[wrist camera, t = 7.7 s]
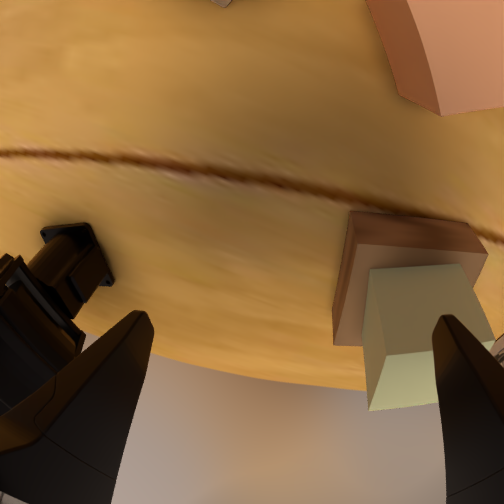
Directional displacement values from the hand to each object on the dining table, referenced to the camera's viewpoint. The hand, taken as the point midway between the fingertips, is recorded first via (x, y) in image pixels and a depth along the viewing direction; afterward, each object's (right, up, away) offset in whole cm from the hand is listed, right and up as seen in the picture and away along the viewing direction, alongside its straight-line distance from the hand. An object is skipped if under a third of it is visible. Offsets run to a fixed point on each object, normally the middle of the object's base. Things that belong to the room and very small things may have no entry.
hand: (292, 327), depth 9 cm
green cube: (+9, -1, +9) cm, 13 cm away
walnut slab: (+10, +1, +13) cm, 16 cm away
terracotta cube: (+9, +14, +3) cm, 17 cm away
